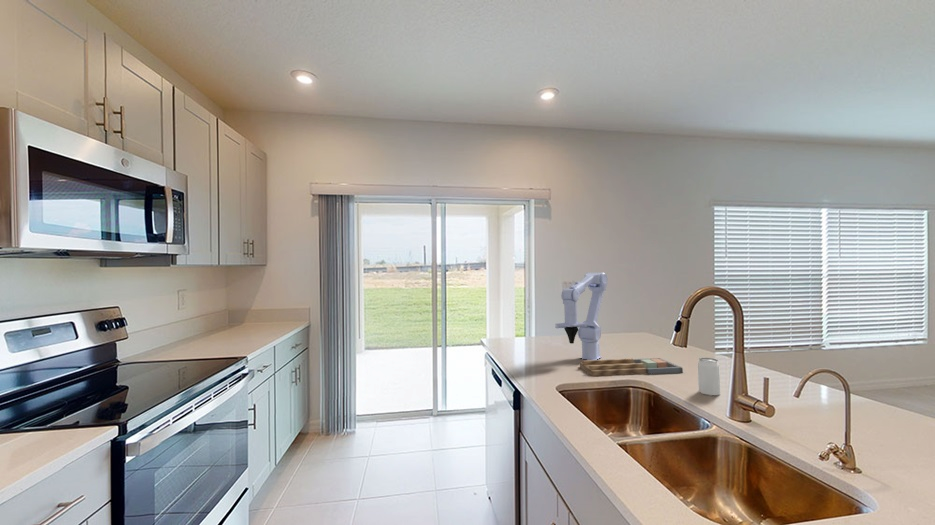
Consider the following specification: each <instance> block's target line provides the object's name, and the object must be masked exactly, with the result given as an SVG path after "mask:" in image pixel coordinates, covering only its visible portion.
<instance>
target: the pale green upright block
mask: <svg viewBox="0 0 935 525" xmlns="http://www.w3.org/2000/svg"><path fill="white" fill-rule="evenodd" d="M644 359H645V360H641V363H643V364H644V368H646V369H647V368H657V363H656V362H654V361H652V360H649V359H650V358H644Z"/></svg>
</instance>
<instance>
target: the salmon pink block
mask: <svg viewBox="0 0 935 525" xmlns="http://www.w3.org/2000/svg"><path fill="white" fill-rule="evenodd" d="M649 359H650V358H649ZM660 359H661V358H660ZM660 359H650V360H652V361H654V362H656V363H657V368H666V367H667V363H666V362H665V361H666V360H665V361H662V360H660Z"/></svg>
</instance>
